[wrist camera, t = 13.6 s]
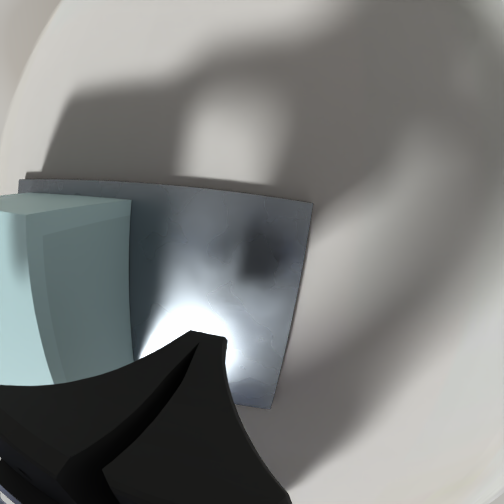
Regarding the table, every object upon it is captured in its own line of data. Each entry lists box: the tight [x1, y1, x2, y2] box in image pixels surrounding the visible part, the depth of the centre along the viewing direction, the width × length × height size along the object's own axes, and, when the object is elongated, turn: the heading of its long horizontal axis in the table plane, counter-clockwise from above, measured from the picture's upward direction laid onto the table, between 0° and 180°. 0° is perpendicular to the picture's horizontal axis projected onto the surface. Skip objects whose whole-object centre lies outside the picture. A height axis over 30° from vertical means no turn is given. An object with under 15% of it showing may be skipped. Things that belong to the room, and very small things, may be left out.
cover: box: [0, 193, 134, 386], centre depth 10 cm, size 8×9×6 cm
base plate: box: [18, 179, 313, 409], centre depth 12 cm, size 17×11×4 cm, turn 82°
